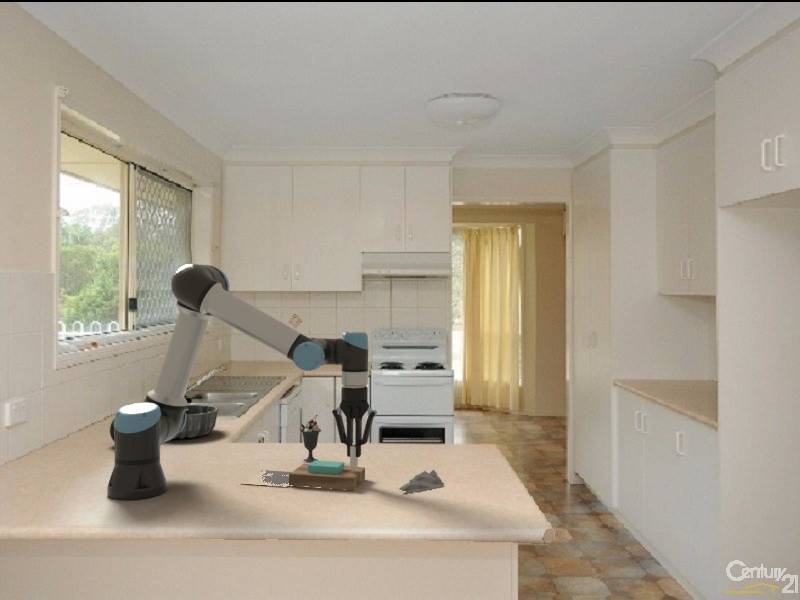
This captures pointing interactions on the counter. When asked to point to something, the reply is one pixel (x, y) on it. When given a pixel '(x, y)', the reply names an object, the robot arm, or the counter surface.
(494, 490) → the counter surface
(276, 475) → the mat
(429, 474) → the cloth
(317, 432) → the sundae
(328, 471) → the rectangular block
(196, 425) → the bundt pan
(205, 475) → the counter surface
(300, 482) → the brown wooden slab
